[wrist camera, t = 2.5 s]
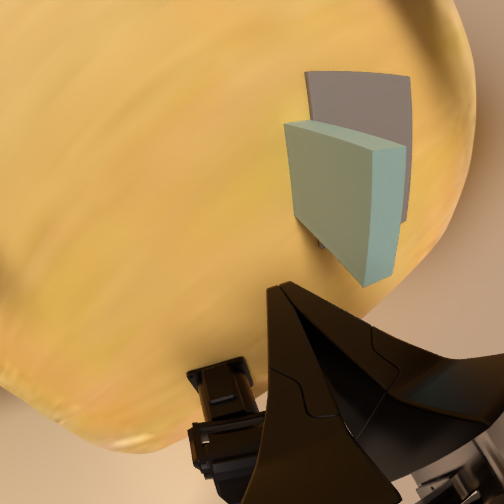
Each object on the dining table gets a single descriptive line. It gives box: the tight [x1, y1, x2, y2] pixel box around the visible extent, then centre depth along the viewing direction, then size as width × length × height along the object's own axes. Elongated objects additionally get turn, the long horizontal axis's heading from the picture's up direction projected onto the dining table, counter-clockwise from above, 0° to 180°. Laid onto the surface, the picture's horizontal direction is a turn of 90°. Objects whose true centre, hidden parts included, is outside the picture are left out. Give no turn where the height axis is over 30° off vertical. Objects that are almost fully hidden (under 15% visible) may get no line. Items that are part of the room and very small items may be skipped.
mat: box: [305, 71, 412, 249], centre depth 19 cm, size 14×10×1 cm
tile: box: [284, 120, 406, 288], centre depth 15 cm, size 7×2×9 cm, turn 9°
